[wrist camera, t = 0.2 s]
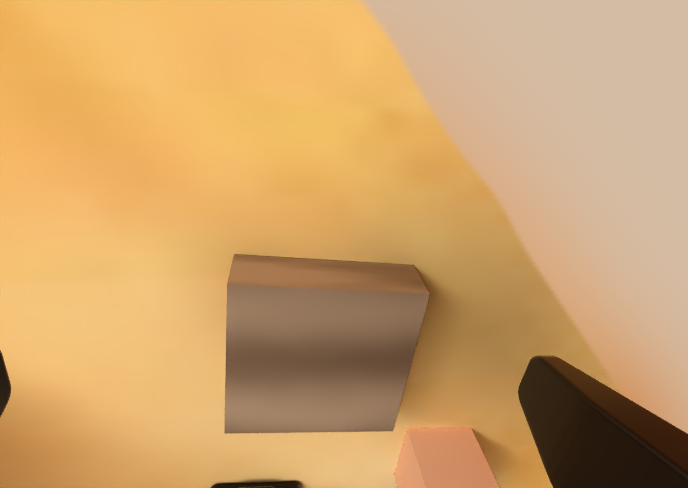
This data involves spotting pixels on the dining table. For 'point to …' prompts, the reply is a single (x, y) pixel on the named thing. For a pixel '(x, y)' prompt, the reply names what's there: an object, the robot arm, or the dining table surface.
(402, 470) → the terracotta block
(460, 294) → the dining table surface
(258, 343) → the walnut base
